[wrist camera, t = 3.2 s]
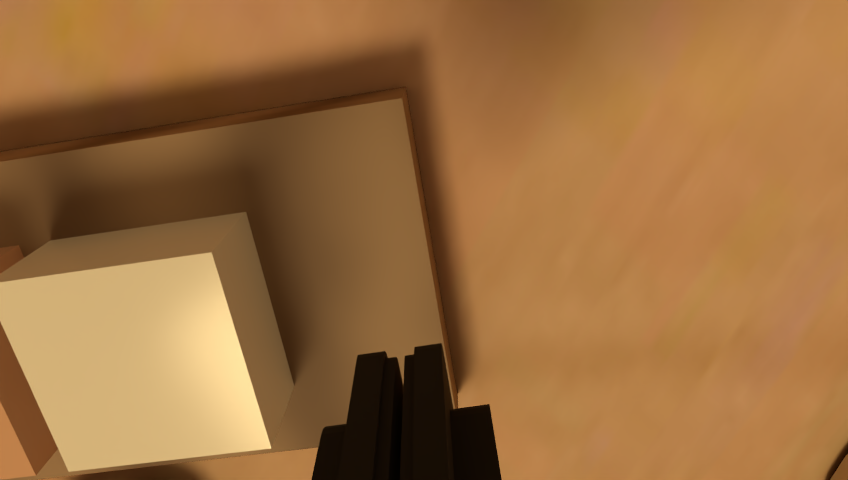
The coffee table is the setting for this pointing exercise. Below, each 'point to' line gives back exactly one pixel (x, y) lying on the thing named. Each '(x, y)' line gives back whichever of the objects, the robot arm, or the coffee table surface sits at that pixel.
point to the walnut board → (266, 230)
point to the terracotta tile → (19, 407)
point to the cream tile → (149, 342)
